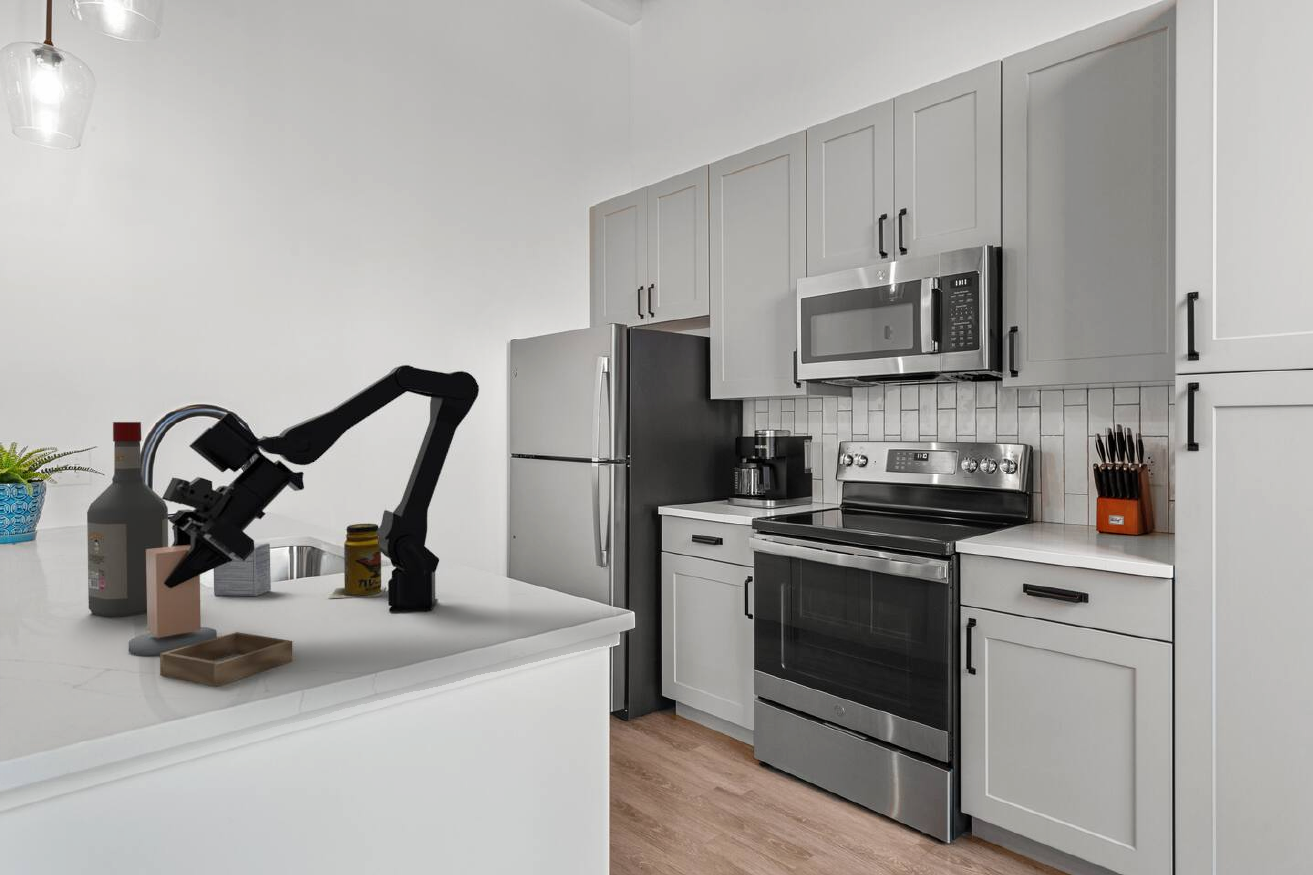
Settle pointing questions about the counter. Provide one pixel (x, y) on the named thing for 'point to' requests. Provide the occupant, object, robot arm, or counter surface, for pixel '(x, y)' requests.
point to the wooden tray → (201, 668)
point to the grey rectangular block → (245, 574)
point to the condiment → (361, 563)
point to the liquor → (123, 531)
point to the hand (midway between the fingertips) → (161, 583)
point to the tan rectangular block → (170, 594)
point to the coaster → (168, 641)
